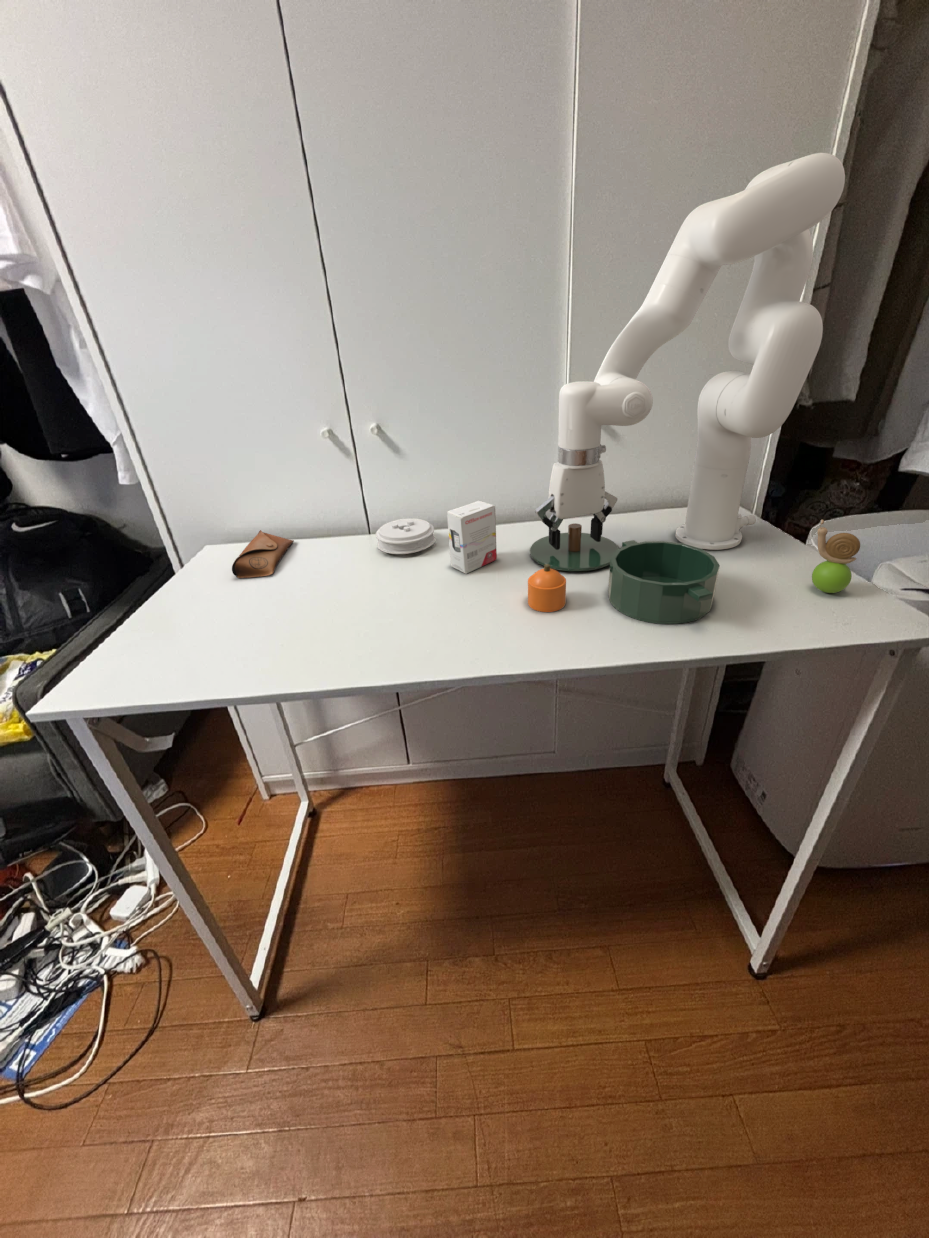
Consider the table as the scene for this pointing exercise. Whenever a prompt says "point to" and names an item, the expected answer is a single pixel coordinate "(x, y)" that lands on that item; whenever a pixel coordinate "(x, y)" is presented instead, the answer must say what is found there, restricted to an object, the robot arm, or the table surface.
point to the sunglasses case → (261, 556)
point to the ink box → (472, 536)
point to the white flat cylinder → (405, 536)
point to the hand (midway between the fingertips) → (575, 543)
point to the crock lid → (574, 551)
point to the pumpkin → (546, 590)
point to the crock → (662, 581)
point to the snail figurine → (834, 560)
